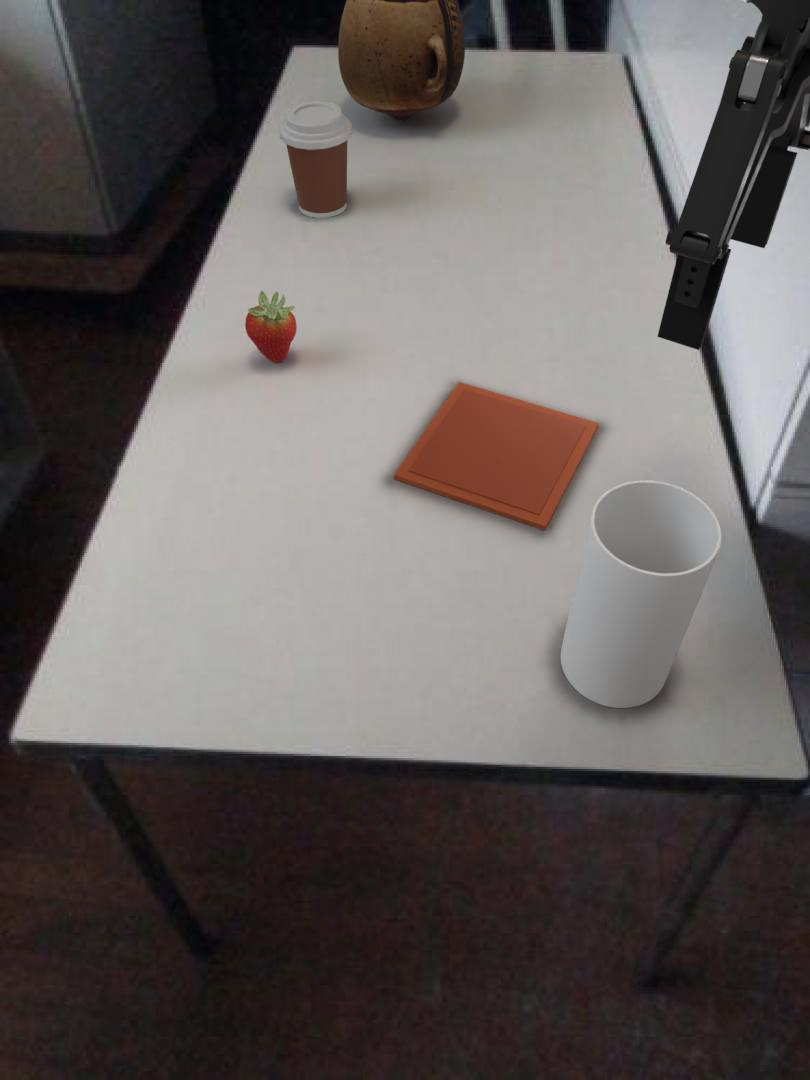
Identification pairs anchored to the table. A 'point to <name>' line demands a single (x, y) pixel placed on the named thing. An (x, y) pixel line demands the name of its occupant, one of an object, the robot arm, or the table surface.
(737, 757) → the table surface
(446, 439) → the mat
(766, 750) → the table surface
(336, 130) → the coffee cup
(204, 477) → the table surface
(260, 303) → the fruit
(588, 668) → the cup
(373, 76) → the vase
